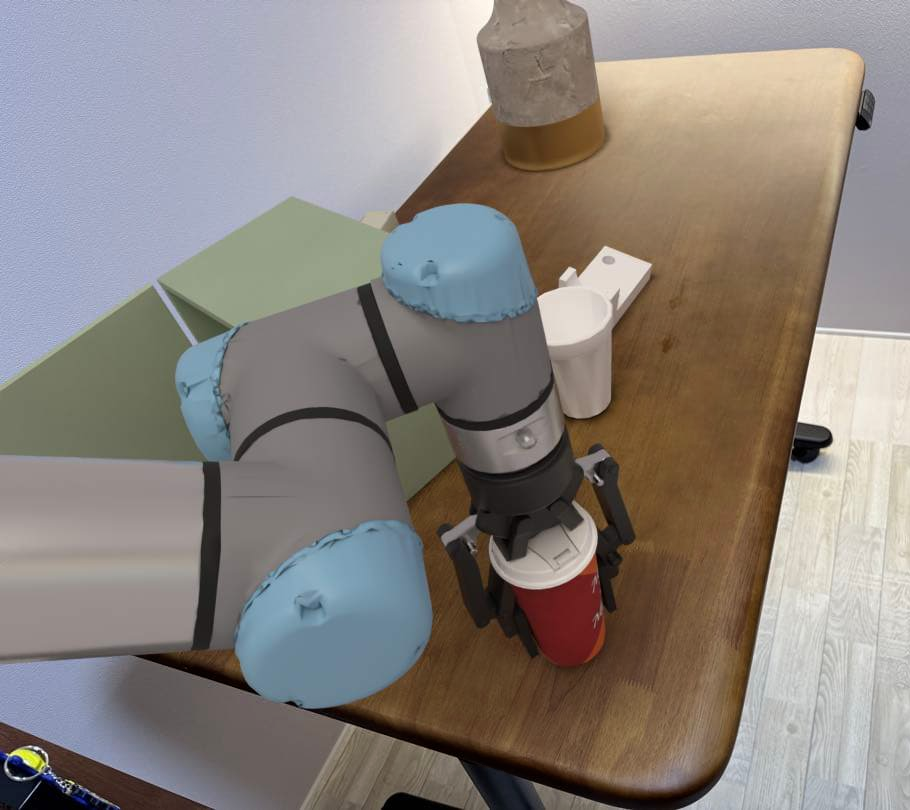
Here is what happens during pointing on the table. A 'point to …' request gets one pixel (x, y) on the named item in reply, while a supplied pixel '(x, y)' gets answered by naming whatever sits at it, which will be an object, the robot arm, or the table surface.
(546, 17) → the vase
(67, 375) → the cupboard door
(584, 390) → the cup
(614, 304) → the bracket
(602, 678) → the table surface
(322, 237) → the cupboard
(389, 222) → the cosmetic box
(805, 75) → the table surface
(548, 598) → the coffee cup
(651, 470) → the table surface
